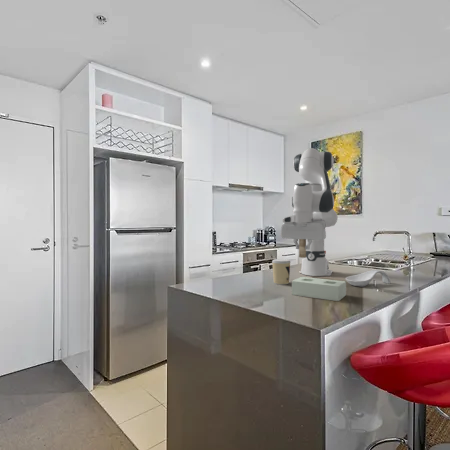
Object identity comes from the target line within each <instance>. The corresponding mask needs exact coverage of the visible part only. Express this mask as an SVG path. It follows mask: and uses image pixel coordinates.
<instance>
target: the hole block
mask: <svg viewBox="0 0 450 450" xmlns="http://www.w3.org/2000/svg"><path fill="white" fill-rule="evenodd" d="M291 295H292V296H298V297H299V296H300V297H306V298H314V299H319V300H321V299H322V300H326V301H334V302H339V301H341V300H343V298H344V297H345V296H346V295H347V281H346V280H336V279H335V280H334V279H327V278H319V277H317V278H316V277H309V276H308V277H307V276H300V277H297V278H295V279H293V280H292V281H291Z"/></svg>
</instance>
